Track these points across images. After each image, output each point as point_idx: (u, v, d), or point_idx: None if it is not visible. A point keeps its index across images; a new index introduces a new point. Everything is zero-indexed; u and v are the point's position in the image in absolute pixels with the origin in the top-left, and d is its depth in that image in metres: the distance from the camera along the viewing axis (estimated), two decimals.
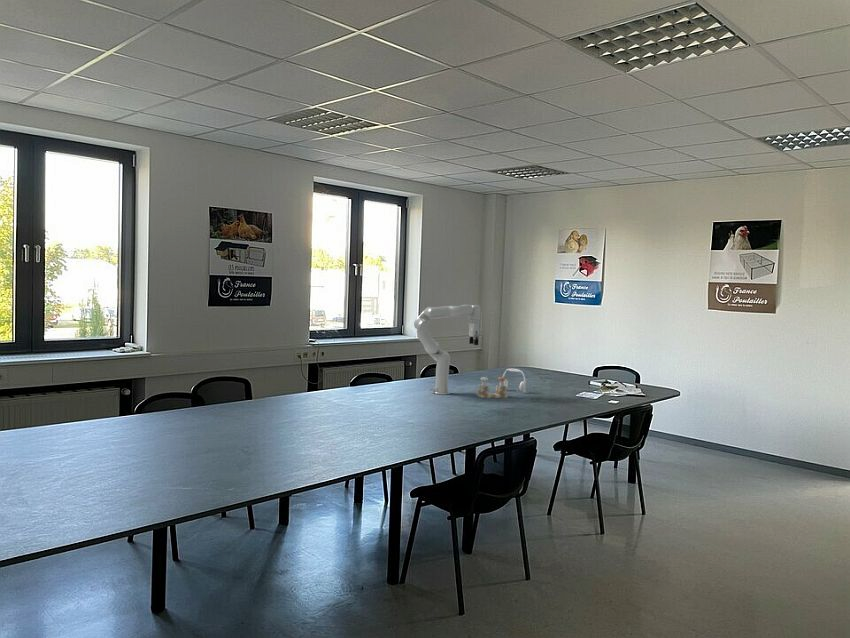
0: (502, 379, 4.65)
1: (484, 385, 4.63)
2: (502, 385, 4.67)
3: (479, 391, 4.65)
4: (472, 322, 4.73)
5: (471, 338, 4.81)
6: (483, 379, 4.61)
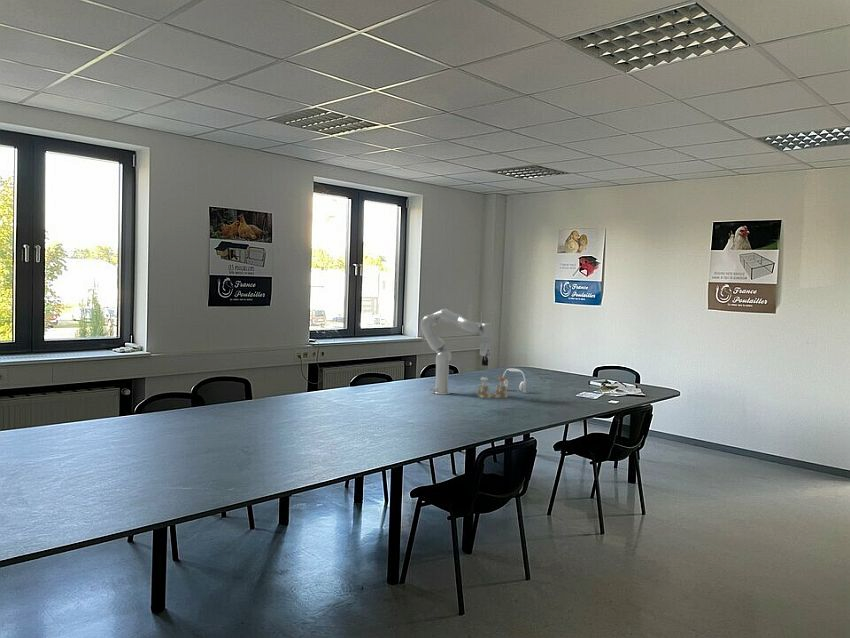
0: (502, 379, 4.65)
1: (484, 385, 4.63)
2: (502, 385, 4.67)
3: (479, 391, 4.65)
4: (483, 341, 4.59)
5: (484, 358, 4.64)
6: (483, 379, 4.61)
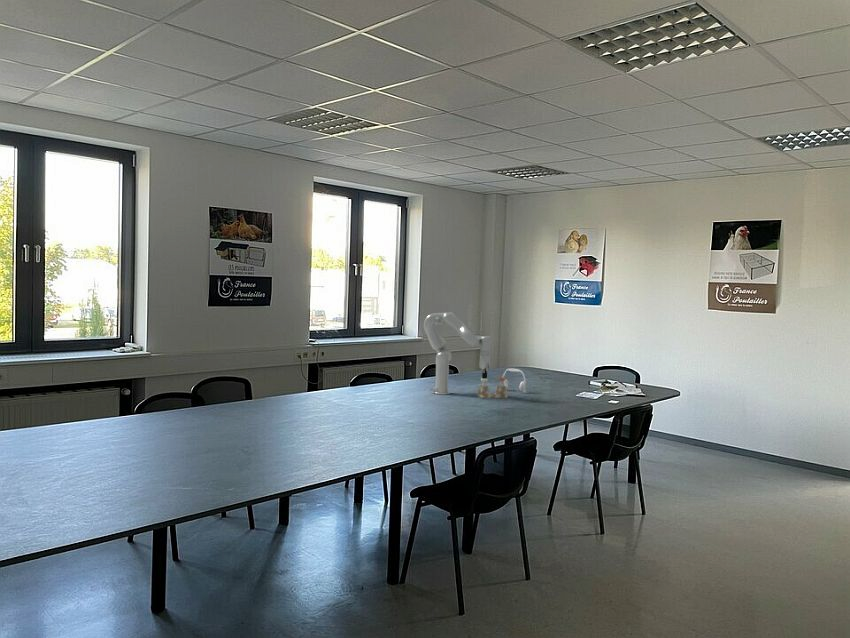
0: (502, 379, 4.65)
1: (484, 386, 4.63)
2: (502, 385, 4.67)
3: (479, 391, 4.65)
4: (483, 354, 4.59)
5: None
6: (483, 380, 4.61)
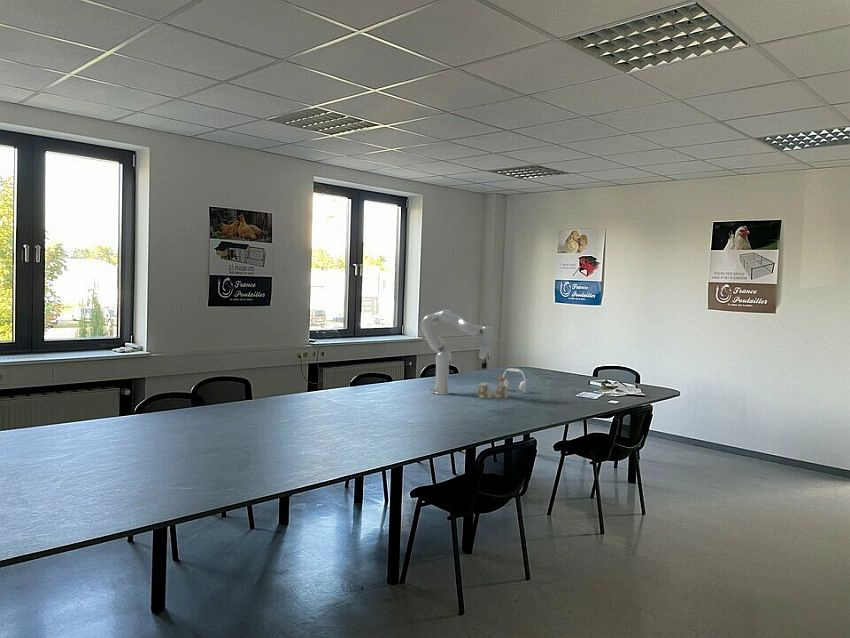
0: (502, 379, 4.65)
1: None
2: (502, 385, 4.67)
3: (479, 391, 4.65)
4: (483, 344, 4.59)
5: None
6: (483, 385, 4.61)
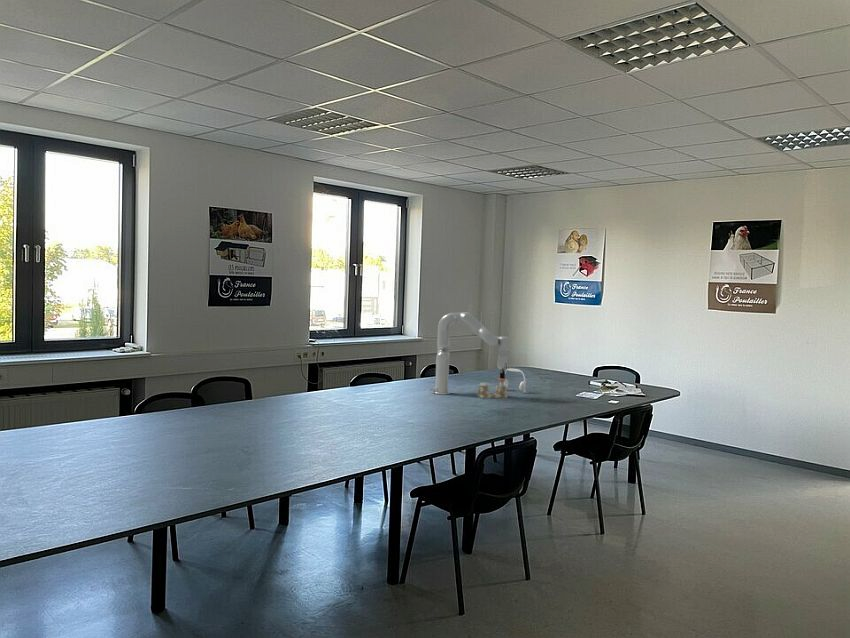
0: (502, 380, 4.65)
1: None
2: (502, 386, 4.67)
3: (479, 391, 4.65)
4: (501, 354, 4.63)
5: None
6: (483, 385, 4.61)
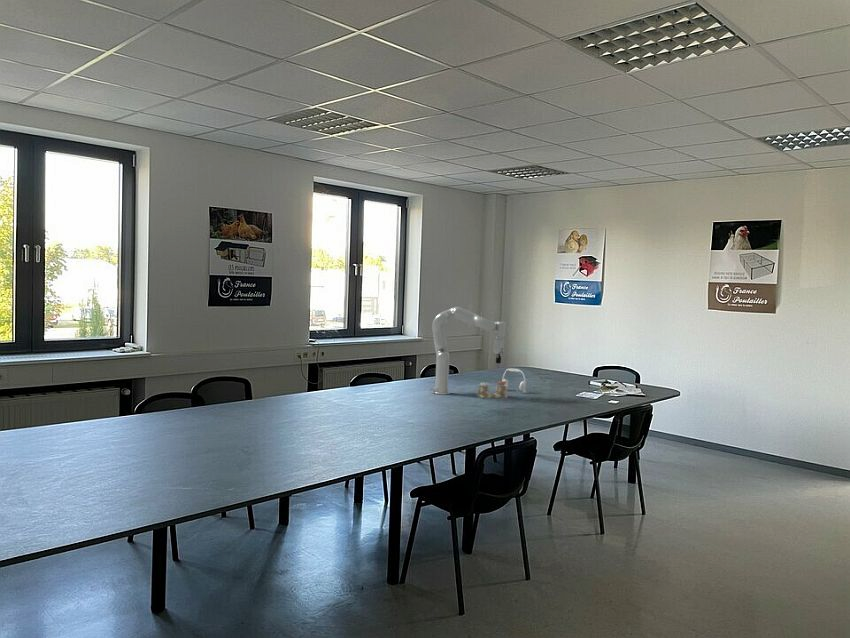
0: (502, 383, 4.65)
1: None
2: None
3: (479, 391, 4.65)
4: (497, 339, 4.65)
5: None
6: (483, 385, 4.61)
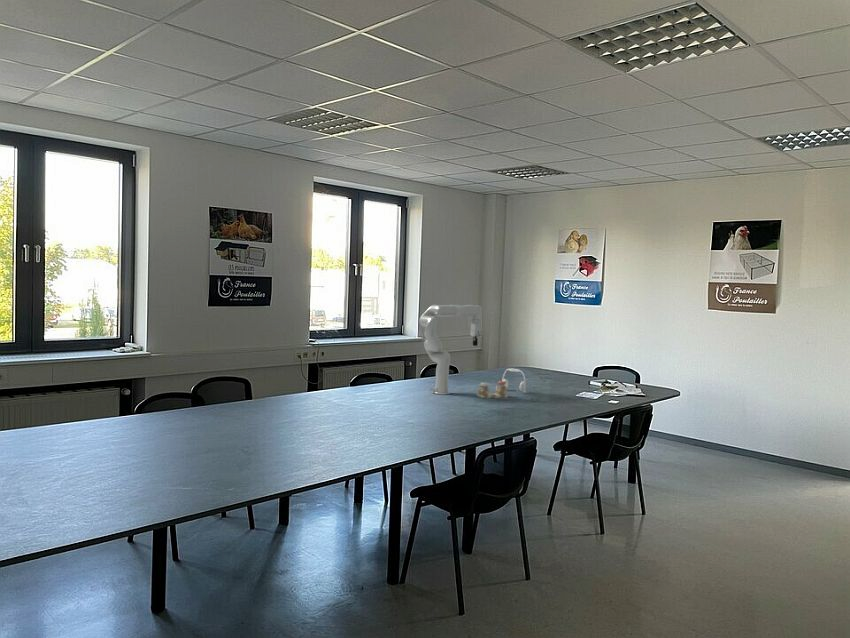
0: (502, 383, 4.65)
1: None
2: None
3: (479, 391, 4.65)
4: (473, 322, 4.81)
5: None
6: (483, 385, 4.61)
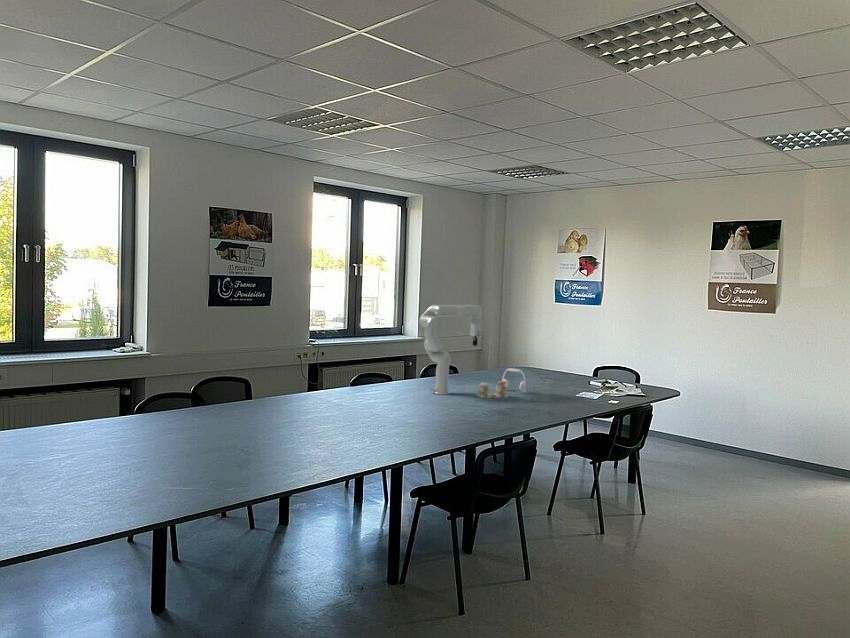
0: (502, 383, 4.65)
1: None
2: None
3: (479, 391, 4.65)
4: (473, 322, 4.81)
5: None
6: (483, 385, 4.61)
